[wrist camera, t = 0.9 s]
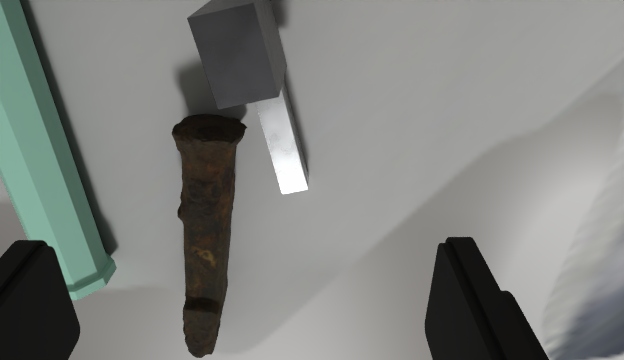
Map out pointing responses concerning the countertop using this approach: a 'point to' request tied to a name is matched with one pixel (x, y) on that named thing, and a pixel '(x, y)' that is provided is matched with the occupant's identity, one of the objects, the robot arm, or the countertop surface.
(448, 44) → the countertop surface
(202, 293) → the hand tool
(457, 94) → the countertop surface
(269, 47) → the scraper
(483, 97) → the countertop surface
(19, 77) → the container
